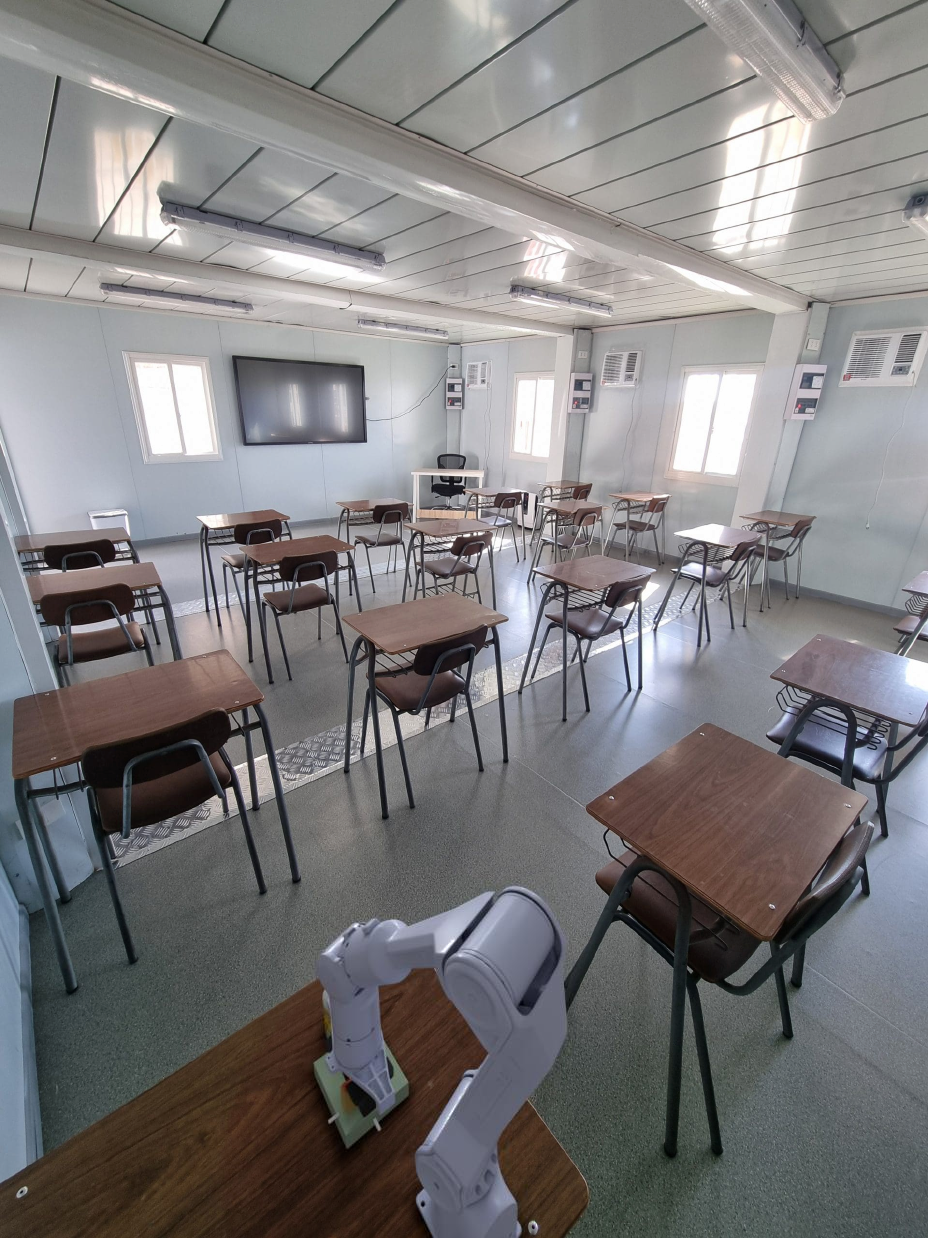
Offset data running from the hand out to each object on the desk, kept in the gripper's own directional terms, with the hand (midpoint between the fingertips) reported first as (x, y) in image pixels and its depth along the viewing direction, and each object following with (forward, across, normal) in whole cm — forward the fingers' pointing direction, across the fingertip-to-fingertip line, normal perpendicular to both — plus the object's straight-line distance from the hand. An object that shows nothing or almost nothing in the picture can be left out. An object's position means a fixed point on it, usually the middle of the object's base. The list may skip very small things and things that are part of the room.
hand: (361, 1093), depth 65 cm
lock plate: (+3, -1, 0) cm, 3 cm away
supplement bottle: (+3, -11, +2) cm, 11 cm away
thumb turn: (0, 0, 0) cm, 0 cm away
